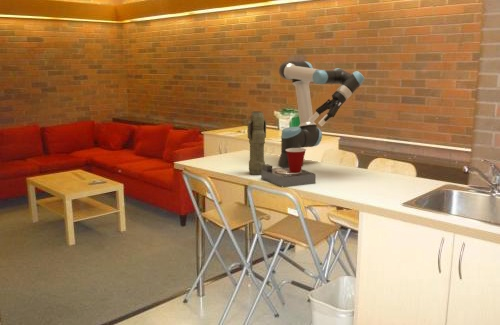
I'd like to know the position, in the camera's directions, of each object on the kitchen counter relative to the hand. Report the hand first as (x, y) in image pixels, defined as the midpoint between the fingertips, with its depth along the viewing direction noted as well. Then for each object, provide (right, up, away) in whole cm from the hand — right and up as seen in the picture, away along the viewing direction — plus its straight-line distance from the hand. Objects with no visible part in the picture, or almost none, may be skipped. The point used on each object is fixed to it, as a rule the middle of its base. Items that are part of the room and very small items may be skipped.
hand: (314, 123), depth 264 cm
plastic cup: (-12, -26, -10) cm, 30 cm away
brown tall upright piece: (-31, -28, +12) cm, 43 cm away
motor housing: (-15, -31, -7) cm, 35 cm away
